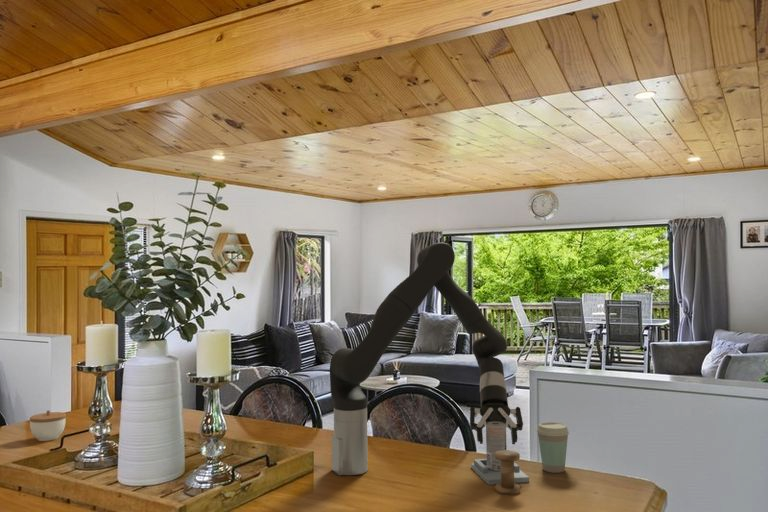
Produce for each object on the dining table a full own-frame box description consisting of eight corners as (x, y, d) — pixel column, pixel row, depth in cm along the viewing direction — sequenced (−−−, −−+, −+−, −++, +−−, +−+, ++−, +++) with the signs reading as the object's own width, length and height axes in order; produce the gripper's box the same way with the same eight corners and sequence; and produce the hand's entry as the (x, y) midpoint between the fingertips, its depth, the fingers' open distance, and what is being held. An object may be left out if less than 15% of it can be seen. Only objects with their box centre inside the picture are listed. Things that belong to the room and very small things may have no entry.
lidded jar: (72, 437, 207) (72, 409, 207) (40, 444, 198) (40, 415, 198) (55, 433, 212) (55, 406, 213) (23, 440, 203) (23, 412, 204)
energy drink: (505, 465, 166) (504, 421, 166) (507, 471, 161) (507, 426, 161) (486, 465, 166) (485, 421, 167) (487, 471, 161) (486, 425, 162)
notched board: (529, 481, 156) (528, 471, 156) (488, 484, 154) (488, 474, 154) (509, 465, 170) (508, 456, 170) (471, 467, 168) (471, 458, 168)
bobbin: (505, 496, 146) (504, 458, 146) (490, 488, 152) (490, 452, 152) (525, 492, 149) (524, 455, 149) (510, 484, 154) (509, 449, 154)
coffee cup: (570, 466, 169) (569, 422, 169) (569, 475, 161) (568, 429, 161) (538, 463, 171) (537, 420, 172) (536, 472, 163) (535, 427, 164)
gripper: (468, 383, 172) (471, 434, 160) (519, 383, 171) (525, 435, 159) (468, 398, 177) (470, 449, 166) (517, 399, 176) (523, 450, 164)
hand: (497, 442), depth 162 cm, fingers open, 8 cm apart
